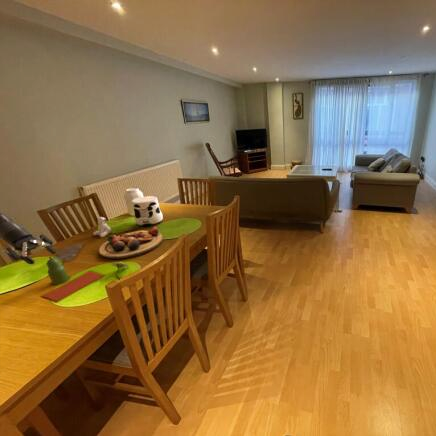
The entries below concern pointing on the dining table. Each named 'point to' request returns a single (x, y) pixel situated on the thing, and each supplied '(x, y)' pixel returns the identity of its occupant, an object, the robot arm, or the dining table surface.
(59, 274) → the pear
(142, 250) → the wooden plate
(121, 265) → the decorative flower
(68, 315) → the dining table surface
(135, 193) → the white vase
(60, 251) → the rug
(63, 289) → the cloth
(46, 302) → the dining table surface
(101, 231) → the seated beast figurine
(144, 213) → the milk container
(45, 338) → the dining table surface
